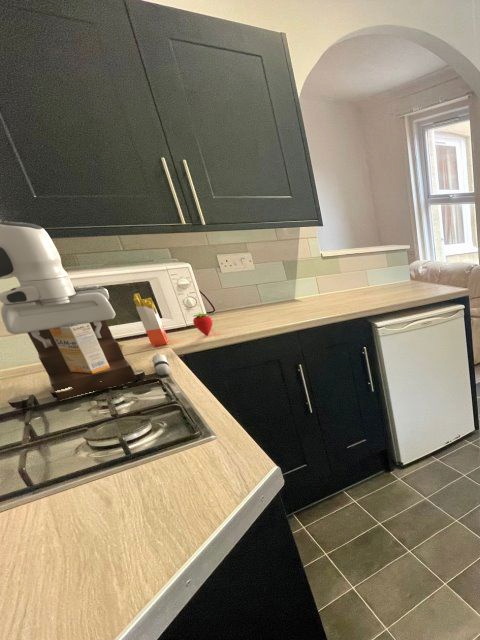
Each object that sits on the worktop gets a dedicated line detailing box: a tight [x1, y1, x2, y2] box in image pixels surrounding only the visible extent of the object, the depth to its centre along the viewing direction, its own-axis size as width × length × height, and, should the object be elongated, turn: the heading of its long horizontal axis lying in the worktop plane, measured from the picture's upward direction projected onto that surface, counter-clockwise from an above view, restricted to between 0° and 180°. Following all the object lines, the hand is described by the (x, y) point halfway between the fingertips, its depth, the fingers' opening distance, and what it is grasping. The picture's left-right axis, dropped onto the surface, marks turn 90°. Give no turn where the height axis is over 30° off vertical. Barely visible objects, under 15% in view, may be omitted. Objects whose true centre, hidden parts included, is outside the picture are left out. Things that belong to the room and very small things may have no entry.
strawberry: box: [192, 313, 213, 336], centre depth 159 cm, size 6×8×10 cm
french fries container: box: [133, 293, 169, 347], centre depth 150 cm, size 5×11×18 cm, turn 36°
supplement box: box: [49, 323, 110, 374], centre depth 112 cm, size 8×5×13 cm, turn 76°
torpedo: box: [149, 345, 171, 376], centre depth 127 cm, size 18×5×7 cm, turn 42°
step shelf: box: [27, 320, 138, 401], centre depth 116 cm, size 16×19×18 cm
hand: (74, 342), depth 111 cm, fingers open, 8 cm apart
